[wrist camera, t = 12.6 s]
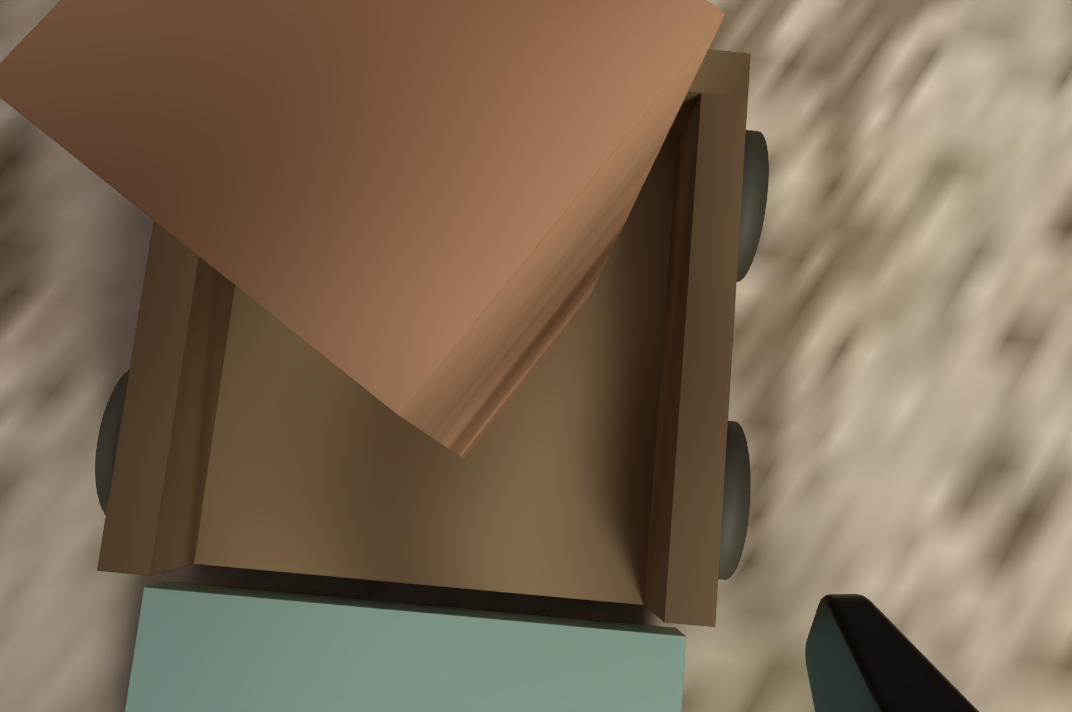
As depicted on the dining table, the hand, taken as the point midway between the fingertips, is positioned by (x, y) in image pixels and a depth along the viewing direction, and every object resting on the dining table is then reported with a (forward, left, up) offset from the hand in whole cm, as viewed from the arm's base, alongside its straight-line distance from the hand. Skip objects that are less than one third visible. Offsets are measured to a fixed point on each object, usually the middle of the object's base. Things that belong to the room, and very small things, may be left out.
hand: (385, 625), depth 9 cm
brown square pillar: (+1, -5, -11) cm, 12 cm away
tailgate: (+1, +4, -12) cm, 13 cm away
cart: (+1, -5, -13) cm, 14 cm away
